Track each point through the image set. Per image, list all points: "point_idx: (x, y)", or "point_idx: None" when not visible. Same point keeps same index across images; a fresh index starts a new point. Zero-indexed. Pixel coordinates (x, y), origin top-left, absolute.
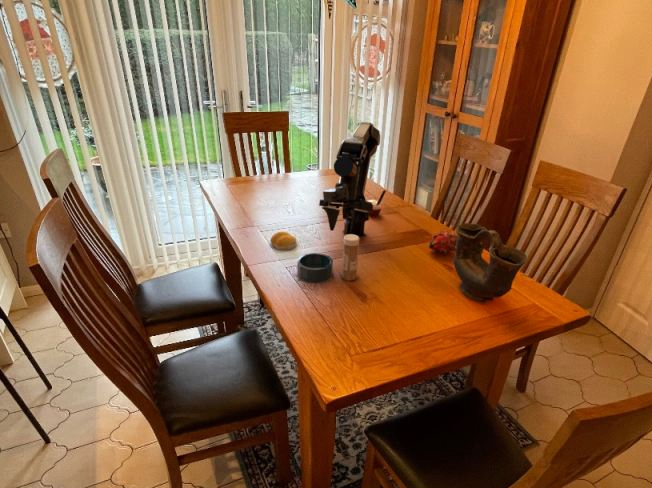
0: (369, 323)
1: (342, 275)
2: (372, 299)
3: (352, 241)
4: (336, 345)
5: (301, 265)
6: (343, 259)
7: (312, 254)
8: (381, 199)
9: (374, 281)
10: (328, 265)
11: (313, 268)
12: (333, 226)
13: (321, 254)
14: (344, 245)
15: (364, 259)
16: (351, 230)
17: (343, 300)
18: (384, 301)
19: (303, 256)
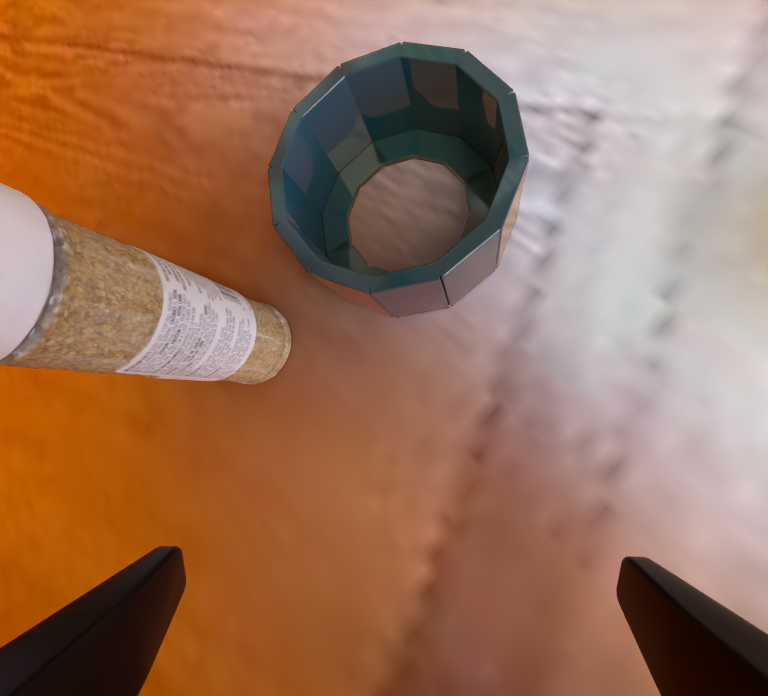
0: (26, 172)
1: (273, 309)
2: None
3: None
4: (44, 24)
5: (401, 50)
6: (184, 268)
7: (490, 209)
8: None
9: (151, 414)
10: (279, 201)
11: (317, 97)
12: (662, 657)
13: (434, 262)
14: (42, 208)
15: (333, 596)
16: (130, 569)
17: (159, 185)
18: None
19: (505, 126)
